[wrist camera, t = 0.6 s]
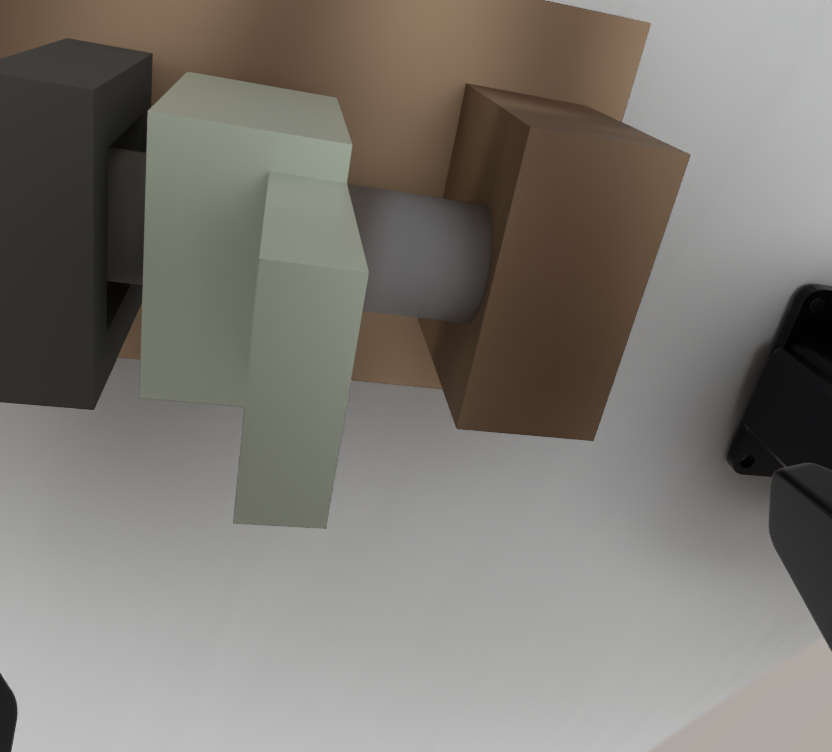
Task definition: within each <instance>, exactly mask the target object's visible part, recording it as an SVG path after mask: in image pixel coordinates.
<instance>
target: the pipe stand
mask: <svg viewBox="0 0 832 752" xmlns="http://www.w3.org/2000/svg"><path fill="white" fill-rule="evenodd" d="M650 25H651V23H648V22H643V21H638V20H634V19H629V18H624V17H620V16H615V15H610V14H606V13H601V12H596V11H592V10H587V9H582V8H578V7H573V6H568V5H564V4H559V3H554V2H550V1H545V0H0V59H2V58H5V57H8V56H11V55H15V54H18V53H21V52H24V51H27V50H30V49H34V48H37V47H40V46H43V45H46V44H49V43H53V42H56V41H59V40H62V39H65V38H70V39H75V40H81V41H87V42H92V43H98V44H103V45H109V46H115V47H120V48H126V49H131V50H137V51H143V52H148V53H153V63H152V96H151V107H152V106H153V105H154V104H155V103H156V102H157V101H158V100H159V99H160V98H161V97H162V96H163V95H164V94H165V93H166V92H167V91H168V90H169V89H170V88H171V87H172V86H173V85H174V84H175V83H176V82H177V81H178V80H179V79H180V78H181V77H182V76H183V75H184V74H185V73H186V72H193V73H199V74H204V75H210V76H216V77H221V78H227V79H233V80H239V81H244V82H250V83H256V84H261V85H267V86H273V87H278V88H284V89H290V90H295V91H301V92H307V93H313V94H318V95H324V96H330V97H335V98H337V100H338V103H339V106H340V109H341V112H342V115H343V118H344V121H345V124H346V127H347V130H348V133H349V136H350V139H351V142H352V151H351V158H350V165H349V172H348V179H347V186H348V190H349V194H350V198H351V202H352V206H353V210H354V214H355V218H356V222H357V226H358V230H359V234H360V238H361V242H362V247H363V251H364V255H365V259H366V263H367V267H368V271H369V275H368V281H367V287H366V293H365V299H364V305H363V311H362V317H361V323H360V329H359V335H358V341H357V347H356V353H355V359H354V365H353V371H352V377H351V380H354V381H364V382H374V383H384V384H395V385H405V386H415V387H425V388H435V389H443V392H444V395H445V397H446V400H447V403H448V406H449V409H450V411H451V414H452V417H453V420H454V423H455V426H456V428H457V429H463V430H474V431H486V432H497V433H508V434H520V435H531V436H543V437H554V438H566V439H577V440H588V441H594V438H595V435H596V432H597V429H598V426H599V423H600V420H601V417H602V414H603V411H604V408H605V405H606V402H607V399H608V397H609V394H610V391H611V388H612V385H613V382H614V379H615V376H616V373H617V370H618V367H619V364H620V361H621V358H622V355H623V352H624V349H625V347H626V344H627V341H628V338H629V335H630V332H631V329H632V326H633V323H634V320H635V317H636V314H637V311H638V308H639V305H640V302H641V299H642V297H643V294H644V291H645V288H646V285H647V282H648V279H649V276H650V273H651V270H652V267H653V264H654V261H655V258H656V255H657V252H658V249H659V247H660V244H661V241H662V238H663V235H664V232H665V229H666V226H667V223H668V220H669V217H670V214H671V211H672V208H673V205H674V202H675V199H676V196H677V194H678V191H679V188H680V185H681V182H682V179H683V176H684V173H685V170H686V167H687V164H688V161H689V158H690V154H688V153H686V152H683V151H681V150H679V149H677V148H675V147H673V146H671V145H669V144H667V143H664V142H662V141H660V140H658V139H656V138H654V137H652V136H650V135H648V134H645V133H643V132H641V131H639V130H637V129H635V128H633V127H631V126H629V125H626V124H624V123H622V120H623V116H624V113H625V110H626V106H627V103H628V99H629V96H630V93H631V89H632V86H633V83H634V79H635V76H636V72H637V69H638V66H639V62H640V59H641V55H642V52H643V49H644V45H645V42H646V38H647V35H648V32H649V28H650ZM145 187H146V153H143V152H137V151H130V150H124V149H117V148H111V147H108V213H107V281H112V282H120V283H129V284H137V285H143V257H144V222H145ZM141 327H142V304H141V306H140V308H139V311H138V313H137V315H136V317H135V319H134V322H133V324H132V326H131V328H130V331H129V333H128V335H127V337H126V339H125V342H124V344H123V346H122V348H121V351H120V353H119V355H118V357H120V358H130V359H141Z"/></svg>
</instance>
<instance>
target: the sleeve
mask: <svg viewBox="0 0 832 752" xmlns="http://www.w3.org/2000/svg"><path fill="white" fill-rule="evenodd" d="M351 151H352V142H351V139H350V136H349V133H348V130H347V127H346V124H345V121H344V118H343V115H342V112H341V109H340V106H339V103H338V100H337V98H335V97H330V96H324V95H318V94H313V93H307V92H301V91H295V90H290V89H284V88H278V87H273V86H267V85H261V84H256V83H250V82H244V81H239V80H233V79H227V78H221V77H216V76H210V75H204V74H199V73H193V72H186V73H185V74H184V75H183V76H182V77H181V78H180V79H179V80H178V81H177V82H176V83H175V84H174V85H173V86H172V87H171V88H170V89H169V90H168V91H167V92H166V93H165V94H164V95H163V96H162V97H161V98H160V99H159V100H158V101H157V102H156V103H155V104H154V105H153V106H152V107H151V108H150V109H149V110H148V116H147V152H146V187H145V222H144V257H143V292H142V327H141V362H140V397H139V398H148V399H159V400H171V401H182V402H193V403H205V404H216V405H227V406H239V407H244V417H243V427H242V437H241V447H240V458H239V468H238V478H237V488H236V498H235V508H234V518H233V523H236V524H253V525H271V526H288V527H306V528H323V529H326V526H327V520H328V514H329V508H330V502H331V496H332V490H333V484H334V478H335V472H336V467H337V461H338V455H339V449H340V443H341V437H342V431H343V425H344V419H345V413H346V407H347V401H348V395H349V389H350V383H351V377H352V371H353V365H354V359H355V353H356V347H357V341H358V335H359V329H360V323H361V317H362V311H363V305H364V299H365V293H366V287H367V281H368V275H369V271H368V267H367V263H366V259H365V255H364V251H363V247H362V242H361V238H360V234H359V230H358V226H357V222H356V218H355V214H354V210H353V206H352V202H351V198H350V194H349V190H348V186H347V179H348V172H349V165H350V158H351Z"/></svg>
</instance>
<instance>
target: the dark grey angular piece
mask: <svg viewBox="0 0 832 752" xmlns="http://www.w3.org/2000/svg"><path fill="white" fill-rule="evenodd" d="M152 63H153V53H148V52H143V51H137V50H131V49H126V48H120V47H115V46H109V45H103V44H98V43H92V42H87V41H81V40H75V39H70V38H65V39H62V40H59V41H56V42H53V43H49V44H46V45H43V46H40V47H37V48H34V49H30V50H27V51H24V52H21V53H18V54H15V55H11V56H8V57H5V58H2V59H0V402H6V403H18V404H29V405H41V406H53V407H65V408H77V409H89V410H94V409H95V406H96V404H97V402H98V400H99V397H100V395H101V393H102V391H103V388H104V386H105V384H106V382H107V380H108V377H109V375H110V373H111V371H112V368H113V366H114V364H115V362H116V360H117V357H118V355H119V353H120V351H121V348H122V346H123V344H124V342H125V339H126V337H127V335H128V333H129V331H130V328H131V326H132V324H133V322H134V319H135V317H136V315H137V313H138V311H139V308H140V306H141V304H142V292H143V285H137V284H129V283H120V282H112V281H107V213H108V147H111V148H117V149H124V150H130V151H137V152H143V153H146V152H147V116H148V110H149V109H150V108H151V96H152Z"/></svg>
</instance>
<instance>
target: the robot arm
mask: <svg viewBox="0 0 832 752" xmlns="http://www.w3.org/2000/svg"><path fill="white" fill-rule="evenodd" d="M816 298H818V302H817V303H816V304H815V305H814V306H813V307H811V308H810V304H811V303H812V302H813V300H815V299H816ZM747 455H748V456H747ZM745 456H747V458H746V459H744V460H743V461H741V460H742V458H743V457H745ZM727 462H728V464H729V465H730V466H731V467H732V468H733V469H734V470H735V471H736V472H737V473H739V474H744V475H756V476H769V477H771V483H770V506H769V532H770V537H771V540H772V543H773V545H774V547H775V549H776V551H777V553H778V555H779V557H780V558H781V560H782V562H783V564H784V566H785V568H786V569H787V571H788V573H789V575H790V577H791V578H792V580H793V582H794V584H795V586H796V588H797V589H798V591H799V593H800V595H801V597H802V599H803V600H804V602H805V604H806V606H807V608H808V609H809V611H810V613H811V615H812V617H813V619H814V620H815V622H816V624H817V626H818V628H819V630H820V631H821V633H822V635H823V637H824V639H825V640H826V642H827V644H828V646H829V648H830V649H831V651H832V287H830V286H823V285H810V286H807V287H805V288H804V289H803V290H801V291H800V292H799V293H798V295H797V297H796V298H795V300H794V303H793V305H792V307H791V310H790V312H789V314H788V316H787V319H786V321H785V323H784V326H783V328H782V330H781V333H780V335H779V337H778V339H777V342H776V344H775V346H774V349H773V351H772V353H771V355H770V358H769V360H768V362H767V365H766V367H765V369H764V372H763V374H762V376H761V378H760V381H759V383H758V385H757V388H756V390H755V392H754V394H753V397H752V399H751V401H750V404H749V406H748V408H747V411H746V413H745V415H744V417H743V420H742V422H741V424H740V427H739V429H738V431H737V434H736V436H735V438H734V440H733V443H732V445H731V447H730V450H729V452H728V455H727ZM16 722H17V702H16V699H15V696H14V694H13V692H12V690H11V689H10V687H9V686H8V684H7V683H6V681H5V680H4V678H3V677H2V675H1V673H0V752H11V750H12V744H13V739H14V733H15V727H16Z"/></svg>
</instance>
